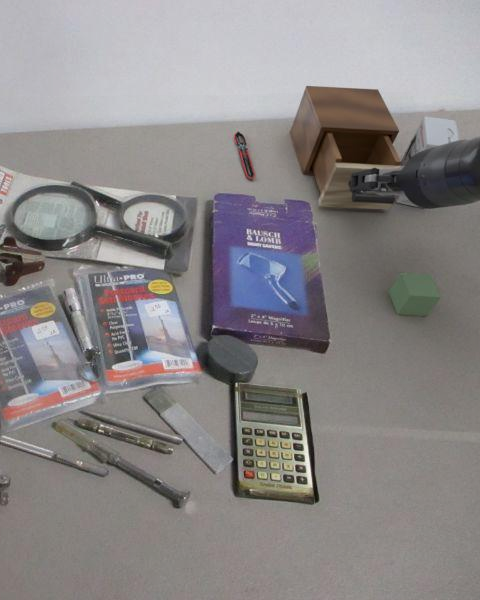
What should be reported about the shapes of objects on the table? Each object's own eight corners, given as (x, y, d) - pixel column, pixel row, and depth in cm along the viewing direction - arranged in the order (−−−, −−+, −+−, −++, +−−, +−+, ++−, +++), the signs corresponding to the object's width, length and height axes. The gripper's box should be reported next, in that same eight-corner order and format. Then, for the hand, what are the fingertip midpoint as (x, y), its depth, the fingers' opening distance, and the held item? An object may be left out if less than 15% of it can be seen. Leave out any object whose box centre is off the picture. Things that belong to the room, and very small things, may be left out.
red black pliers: (245, 180, 101) (246, 177, 101) (232, 133, 110) (233, 130, 110) (257, 181, 102) (258, 178, 101) (242, 133, 111) (243, 130, 110)
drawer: (397, 227, 94) (420, 189, 88) (325, 224, 94) (343, 185, 88) (370, 166, 104) (389, 127, 98) (305, 162, 104) (320, 124, 98)
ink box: (392, 172, 104) (424, 113, 95) (422, 178, 103) (457, 119, 94) (393, 203, 99) (427, 143, 90) (425, 209, 98) (462, 149, 89)
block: (417, 293, 86) (431, 274, 83) (426, 316, 83) (441, 297, 80) (388, 292, 86) (401, 272, 83) (396, 314, 83) (410, 295, 80)
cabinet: (375, 178, 103) (399, 130, 96) (302, 174, 103) (321, 126, 96) (356, 136, 111) (378, 89, 104) (289, 132, 111) (306, 85, 104)
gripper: (514, 145, 71) (435, 165, 87) (394, 140, 71) (338, 160, 87) (507, 209, 71) (430, 216, 87) (388, 203, 71) (333, 211, 88)
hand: (384, 188), depth 87 cm, fingers open, 8 cm apart
